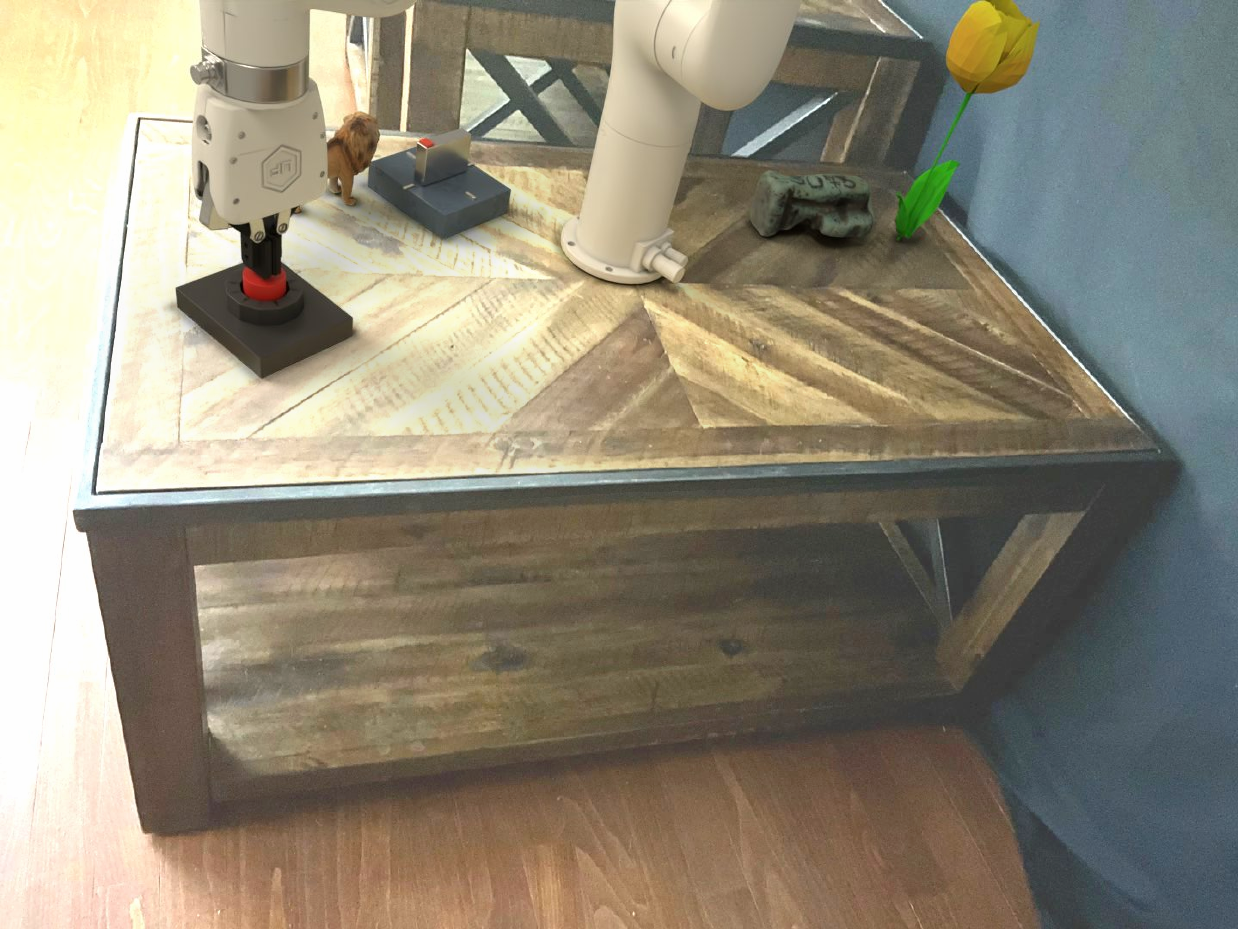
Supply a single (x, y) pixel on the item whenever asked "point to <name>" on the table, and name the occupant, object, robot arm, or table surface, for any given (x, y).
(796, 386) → the table surface
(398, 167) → the panel
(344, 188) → the lion figurine
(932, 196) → the flower
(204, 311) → the button box
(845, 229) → the sculpture
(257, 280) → the red button
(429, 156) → the tap handle
